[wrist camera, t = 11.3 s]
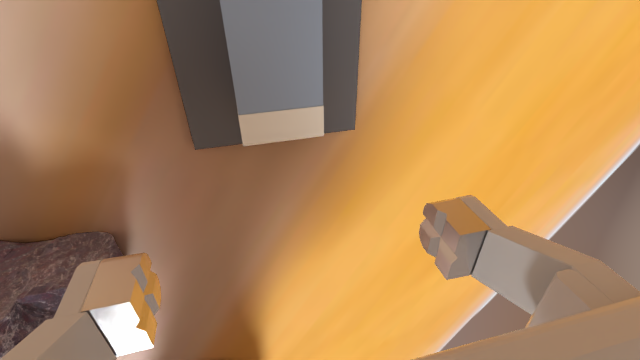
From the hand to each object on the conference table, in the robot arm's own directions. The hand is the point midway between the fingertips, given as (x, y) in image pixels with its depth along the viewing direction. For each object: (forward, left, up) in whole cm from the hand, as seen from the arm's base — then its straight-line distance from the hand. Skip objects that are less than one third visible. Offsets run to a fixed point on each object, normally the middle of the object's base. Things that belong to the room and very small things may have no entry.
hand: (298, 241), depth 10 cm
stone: (-16, +20, -20) cm, 32 cm away
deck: (+1, -2, -19) cm, 19 cm away
